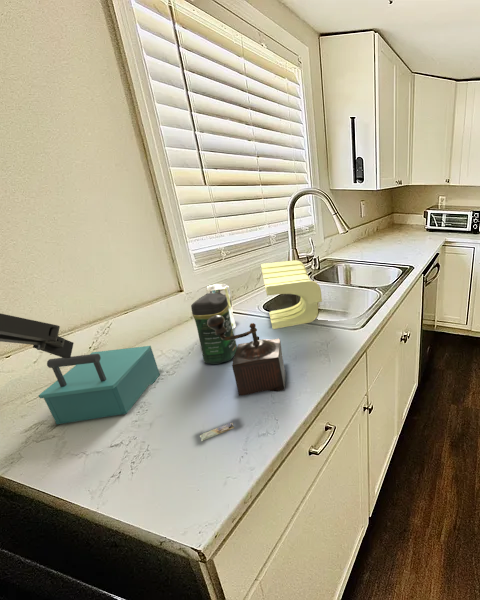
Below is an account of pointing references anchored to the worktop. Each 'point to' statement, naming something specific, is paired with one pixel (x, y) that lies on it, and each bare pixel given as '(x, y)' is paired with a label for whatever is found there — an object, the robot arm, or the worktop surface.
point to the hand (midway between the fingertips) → (21, 356)
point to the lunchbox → (106, 396)
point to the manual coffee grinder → (254, 360)
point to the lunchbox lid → (93, 371)
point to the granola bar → (216, 431)
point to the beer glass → (226, 291)
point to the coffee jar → (211, 343)
